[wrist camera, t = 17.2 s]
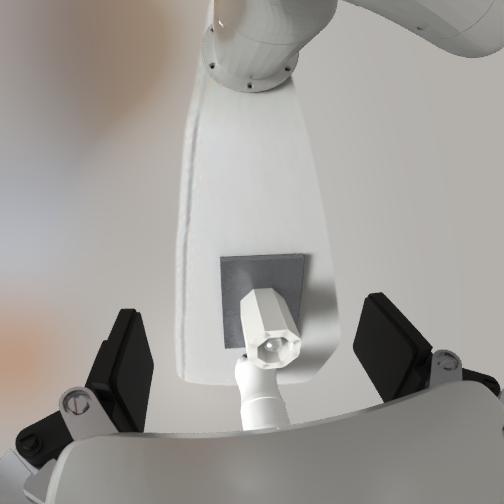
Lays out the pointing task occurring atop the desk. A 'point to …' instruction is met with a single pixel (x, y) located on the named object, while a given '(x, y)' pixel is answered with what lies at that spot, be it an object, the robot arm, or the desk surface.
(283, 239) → the desk surface
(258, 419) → the water bottle
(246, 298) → the white hollow octagonal tube
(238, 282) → the roll holder
